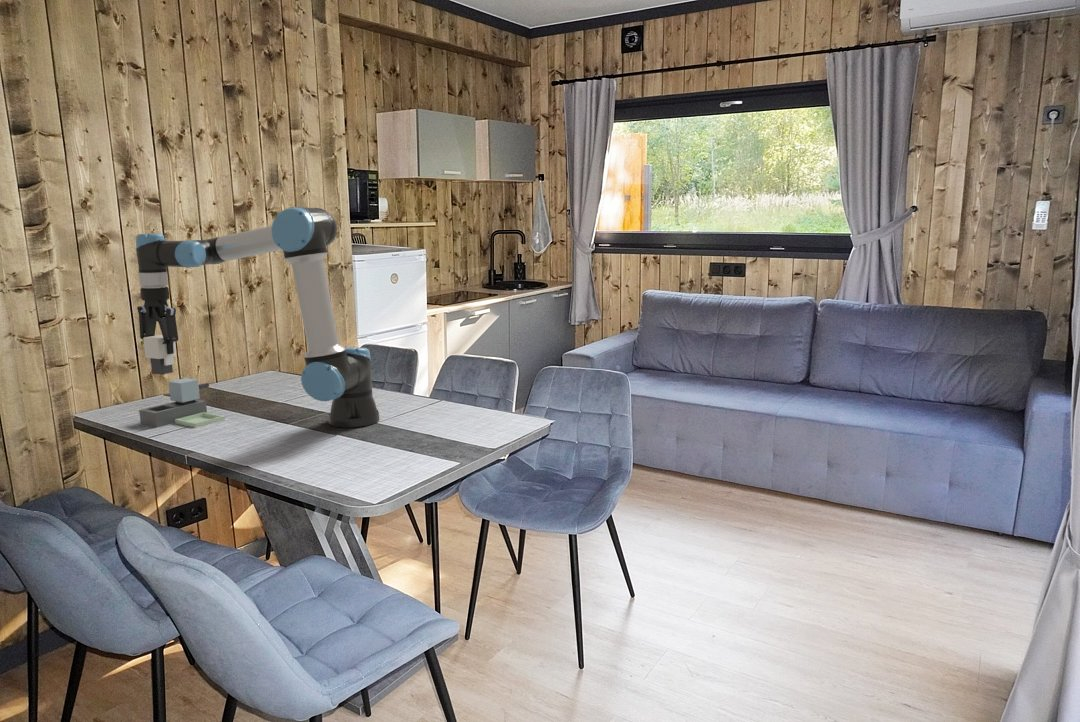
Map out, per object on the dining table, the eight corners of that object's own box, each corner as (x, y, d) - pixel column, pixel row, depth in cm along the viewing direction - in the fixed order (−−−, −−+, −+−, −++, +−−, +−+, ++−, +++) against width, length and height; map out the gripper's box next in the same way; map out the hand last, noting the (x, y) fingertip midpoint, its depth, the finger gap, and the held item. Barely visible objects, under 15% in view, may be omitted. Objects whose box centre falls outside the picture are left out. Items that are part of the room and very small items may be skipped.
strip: (218, 413, 243) (214, 376, 240) (157, 429, 225) (152, 390, 223) (202, 410, 247) (198, 374, 244) (140, 426, 229) (136, 387, 227)
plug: (160, 375, 224) (157, 339, 222) (146, 373, 226) (143, 337, 224) (178, 371, 229) (174, 336, 227) (164, 370, 232) (160, 334, 230)
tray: (224, 421, 233) (224, 416, 232) (196, 429, 224) (195, 423, 224) (204, 417, 238) (203, 412, 237) (175, 425, 229) (174, 419, 229)
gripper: (188, 287, 222) (194, 364, 227) (143, 284, 230) (150, 358, 235) (165, 289, 216) (173, 368, 220) (120, 286, 223) (128, 363, 228)
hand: (161, 363), depth 227 cm, fingers closed on plug, 6 cm apart
